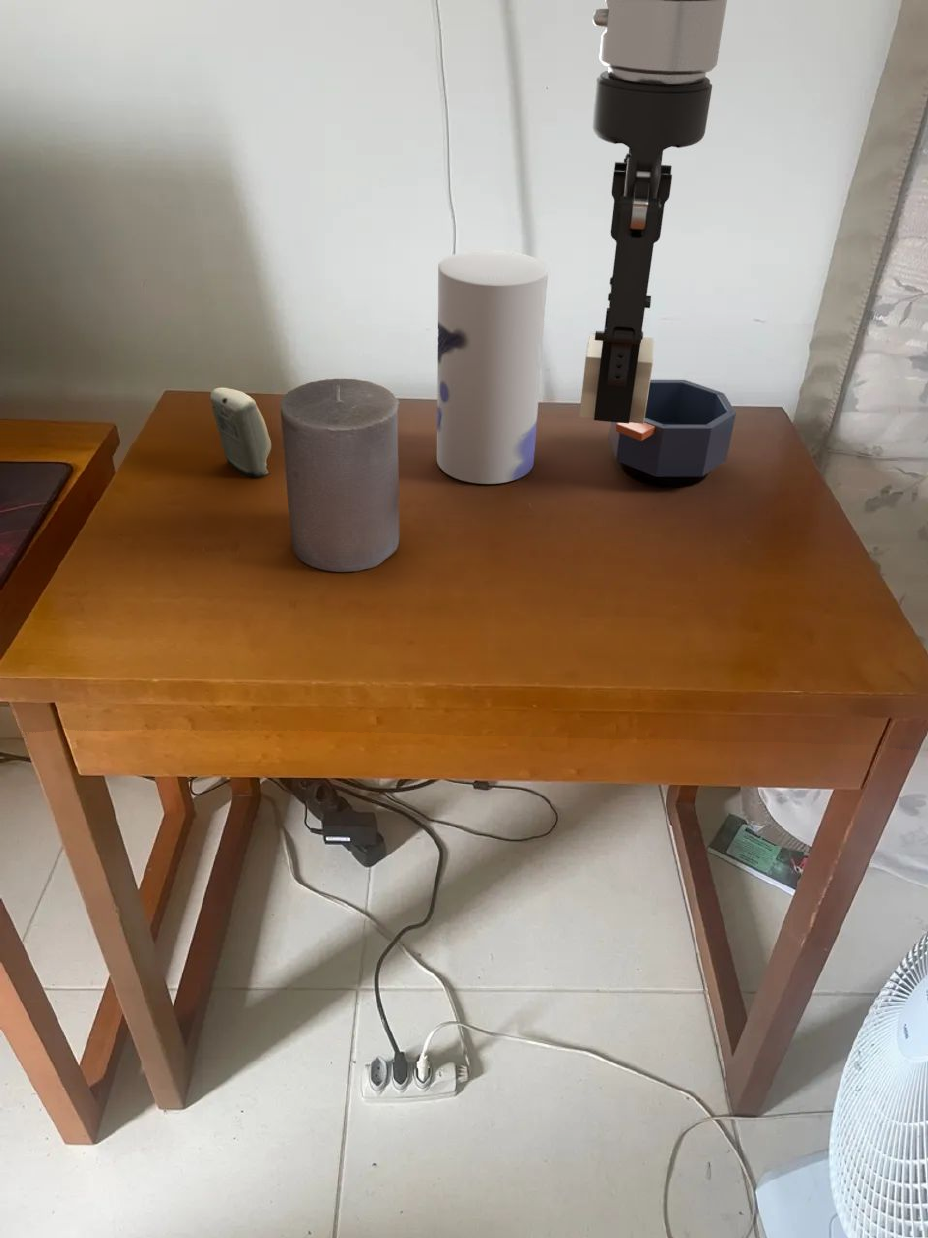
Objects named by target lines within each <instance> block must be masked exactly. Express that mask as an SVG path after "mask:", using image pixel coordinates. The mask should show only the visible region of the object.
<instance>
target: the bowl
mask: <svg viewBox="0 0 928 1238" xmlns="http://www.w3.org/2000/svg"><path fill="white" fill-rule="evenodd" d="M736 415H737V412H736V411H735V409H734V407H733V406H732V404H731V402H730V401H729V399H728V398H727V395H726V394H725V393H724V392H721V391H720V390H716V389H714V388H710V387H708V386H704V385H701V384H698V383H695V382H692V381H689V380H687V379H650V386H649V392H648V399H647V406H646V412H645V419H644V423H643V424H642V423H631V422H629V424H628V423H618V422H610V423H609V424H610V426H609V431H608V442H609V446H610V448H611V450H612V453H613V455H614V458H615V461H617V462H619V463H620V462H621V463H623V464H626V465H628V466H631V467H633V468H635V469H638V470H640V471H643V472H645V473H648V474H650V475H653V476H655V477H701V476H704V475H705V474H707V473H710V472H711V471H713V470H714V469H716V468H717V467H719V466H721V465H722V464H724V463H725V462H727V458H728V453H729V448H730V443H731V439H732V435H733V431H734V425H735V420H736ZM707 475H708V474H707Z"/></svg>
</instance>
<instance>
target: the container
mask: <svg viewBox="0 0 928 1238" xmlns="http://www.w3.org/2000/svg"><path fill="white" fill-rule="evenodd" d="M548 276H549V268H548V266H547V265H546V263H544V262H543V261H542V260H540V259H539V258H536V257H533V256H531V255H528V254H524V253H520V252H515V251H508V250H498V249H495V250H493V249H480V250H470V251H463V252H458V253H454V254H451V255H449V256H447V257H444V258H443V259H442V260H440V262H438V265H437V360H436V361H437V364H436V365H437V370H436V371H437V373H436V374H437V376H436V377H437V378H436V379H437V380H436V381H437V383H436V384H437V385H436V387H437V388H436V413H437V414H436V430H437V431H436V463H437V465H438V468H440V469H441V471H443V473H445V474H446V475H448V476H450V477H452V478H454V479H457V480H460V481H461V482H466V483H471V484H480V485H496V484H504V483H509V482H512V481H515V480H519V479H521V478H522V477H524V476H526V475H527V474H529V473H530V472H531V471H532V470H533V467H534V465H535V451H536V439H537V425H538V423H537V422H538V414H539V413H538V412H539V398H540V384H541V371H542V356H543V345H544V330H545V317H546V316H545V315H546V306H547V305H546V303H547V290H548V278H549V277H548Z"/></svg>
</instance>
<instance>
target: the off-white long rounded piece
mask: <svg viewBox="0 0 928 1238" xmlns="http://www.w3.org/2000/svg"><path fill="white" fill-rule="evenodd" d="M209 401H210V404H211V409H212V413H213V416H214V419H215V424H216V428H217V430H218V435H219V438H220V443H221V446H222V450H223V453H224V455H225V458H226V460H227V464H228V466H230V467H232V468H234V469H235V470H237V471H239V472H240V473H242V474H243V475H245V476H248V477H249V478H252V479H253V478H254V479H256V478H260V477H264V476H265V475H267V474H268V473H269V470H268V469H267V465H268V463H267V459H268V457H269V455H270V452H271V450H272V442H271V438H270V436H269V432H268V428H267V425H266V421H265V419H264V417H263V415H262V413H261V411H260V409H259V407H258V405H257V403H256V400H255V399H254V398H253V397H251V396H250V395H248V394H246V393H245V392H243V391H240V390H237V389H234V388H229V387H215V388H213V389H212V390H211V392H210V395H209Z"/></svg>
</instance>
